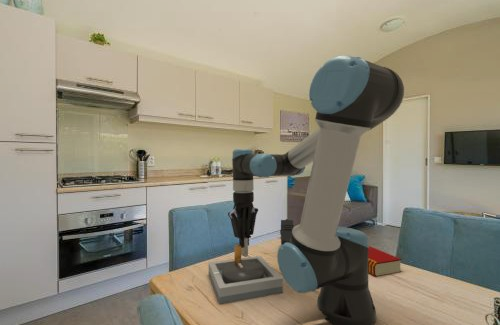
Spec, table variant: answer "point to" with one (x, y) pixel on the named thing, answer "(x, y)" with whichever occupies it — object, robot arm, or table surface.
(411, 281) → the table surface
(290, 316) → the table surface
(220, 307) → the table surface
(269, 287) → the square crank box
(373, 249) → the book
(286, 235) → the tool
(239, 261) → the crank dial
